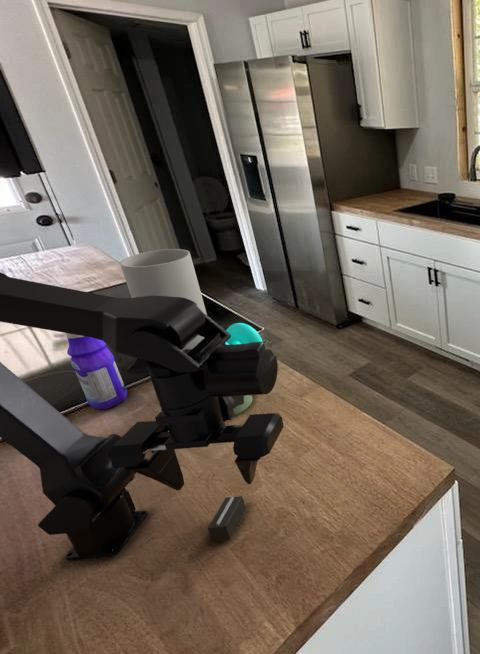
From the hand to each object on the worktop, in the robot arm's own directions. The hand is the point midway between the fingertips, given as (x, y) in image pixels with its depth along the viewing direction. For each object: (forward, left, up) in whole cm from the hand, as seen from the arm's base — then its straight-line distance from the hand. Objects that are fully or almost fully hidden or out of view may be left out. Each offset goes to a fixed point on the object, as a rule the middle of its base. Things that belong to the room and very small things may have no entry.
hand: (216, 484), depth 58 cm
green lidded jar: (+28, +13, -8) cm, 32 cm away
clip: (0, 0, -8) cm, 8 cm away
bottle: (+32, +38, -8) cm, 50 cm away
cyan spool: (+42, +18, -8) cm, 46 cm away
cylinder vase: (+51, +34, -8) cm, 62 cm away
